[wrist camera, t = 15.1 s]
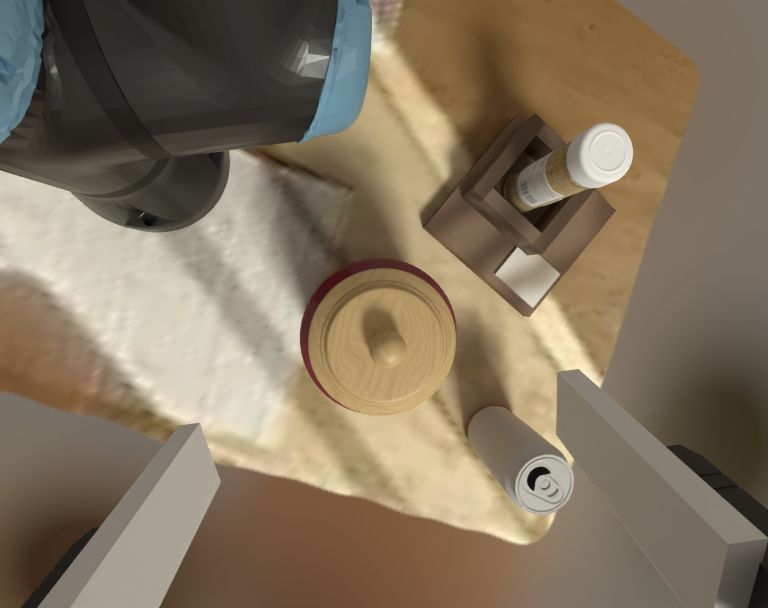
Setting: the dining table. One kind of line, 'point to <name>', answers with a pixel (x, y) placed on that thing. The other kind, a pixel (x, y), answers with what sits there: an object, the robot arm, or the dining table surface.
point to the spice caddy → (516, 220)
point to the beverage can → (521, 460)
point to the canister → (378, 336)
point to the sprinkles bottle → (572, 168)
